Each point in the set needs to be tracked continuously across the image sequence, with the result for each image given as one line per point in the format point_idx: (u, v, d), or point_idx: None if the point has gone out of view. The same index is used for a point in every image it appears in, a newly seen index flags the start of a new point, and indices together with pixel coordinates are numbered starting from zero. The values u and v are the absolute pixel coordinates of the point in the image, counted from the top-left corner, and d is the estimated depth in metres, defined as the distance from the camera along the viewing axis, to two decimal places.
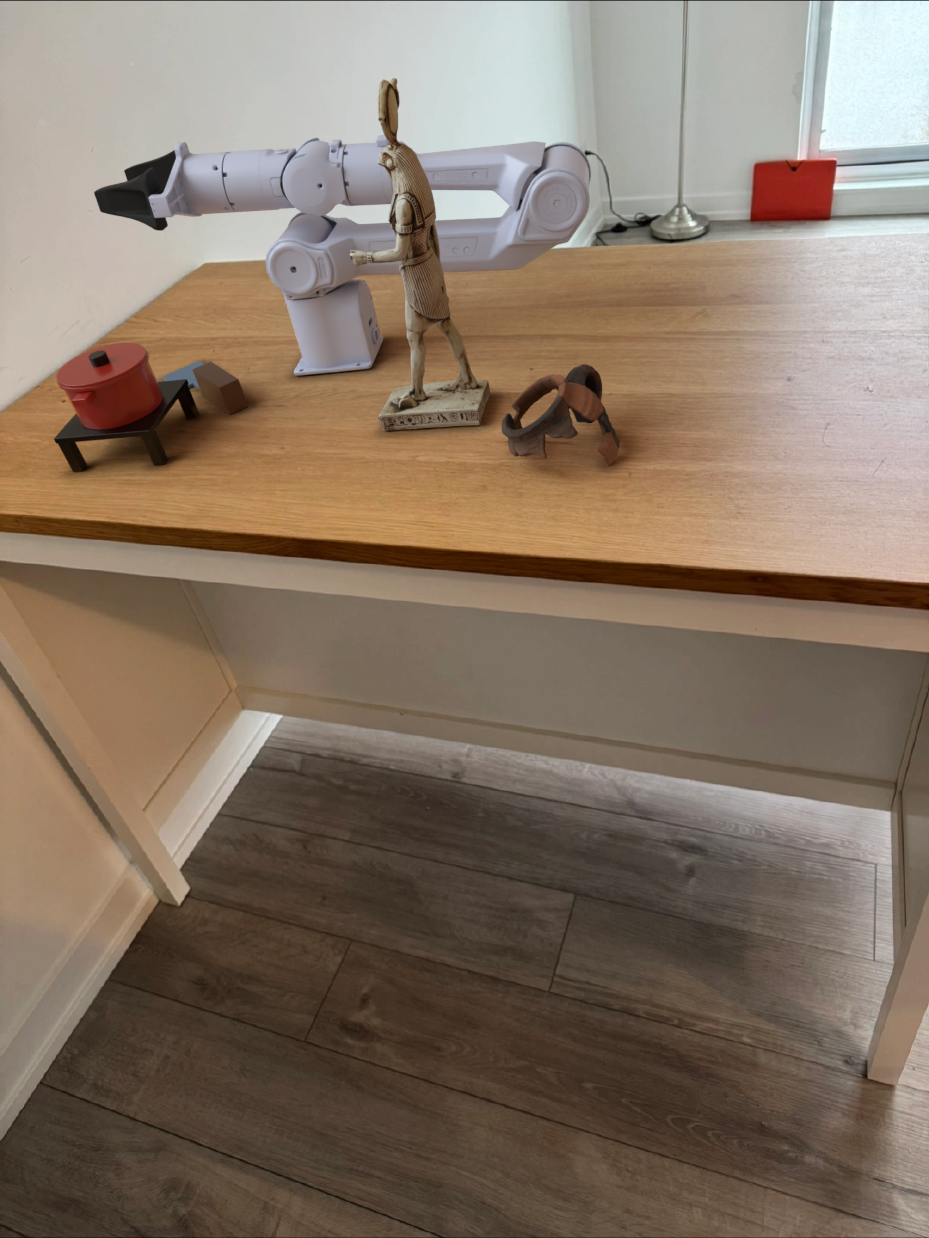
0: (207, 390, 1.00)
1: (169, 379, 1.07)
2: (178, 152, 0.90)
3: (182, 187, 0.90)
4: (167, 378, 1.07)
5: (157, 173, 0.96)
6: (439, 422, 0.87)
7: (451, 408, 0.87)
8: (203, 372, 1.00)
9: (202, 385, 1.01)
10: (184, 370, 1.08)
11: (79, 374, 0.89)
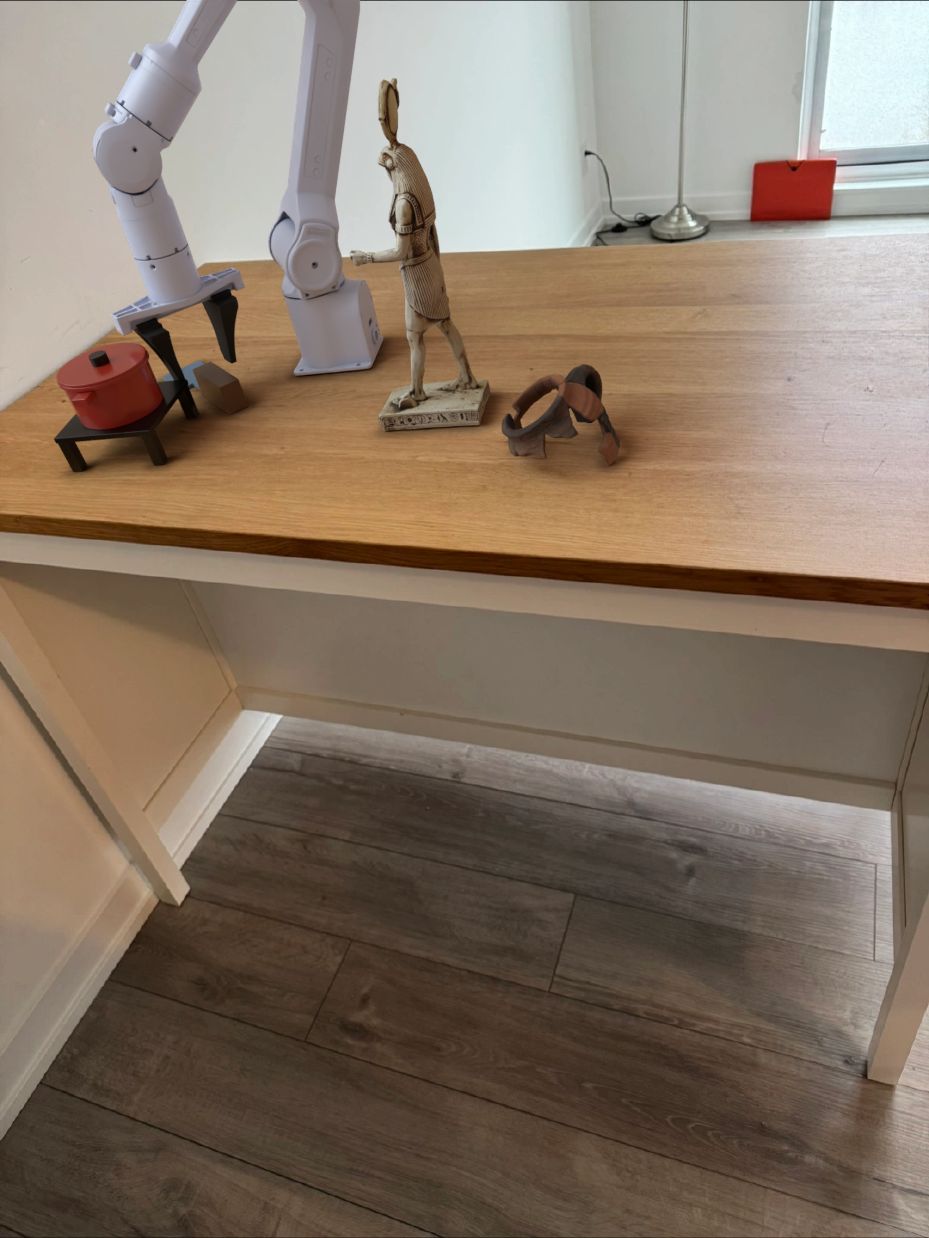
0: (207, 390, 1.00)
1: (169, 379, 1.07)
2: None
3: (149, 300, 0.93)
4: (167, 378, 1.07)
5: (217, 329, 0.99)
6: (439, 422, 0.87)
7: (451, 408, 0.87)
8: (203, 372, 1.00)
9: (202, 385, 1.01)
10: (184, 370, 1.08)
11: (79, 374, 0.89)
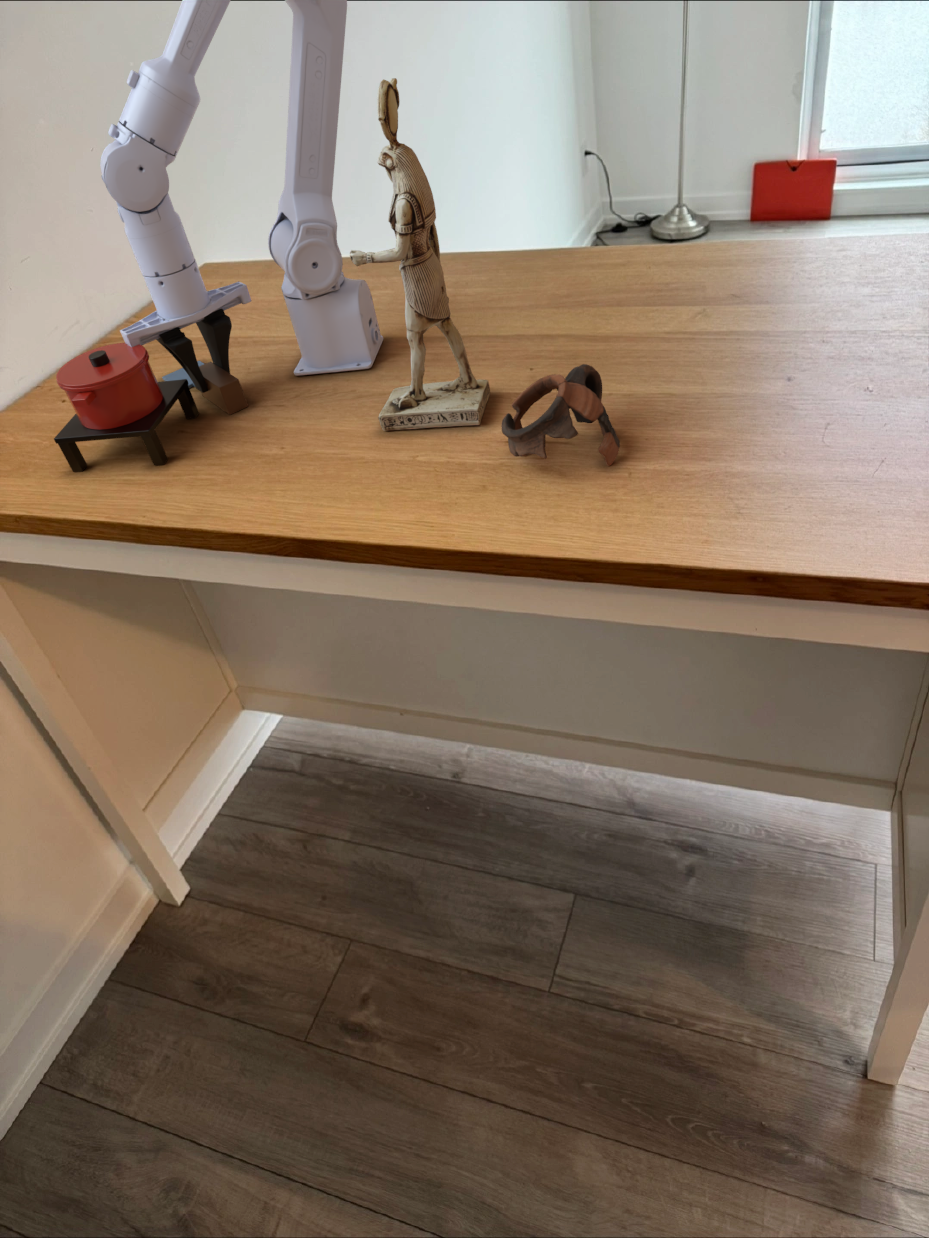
0: None
1: (169, 379, 1.07)
2: None
3: (158, 316, 0.94)
4: (167, 378, 1.07)
5: (211, 348, 0.99)
6: (439, 422, 0.87)
7: (451, 408, 0.87)
8: (203, 372, 1.00)
9: None
10: (184, 370, 1.08)
11: (79, 374, 0.89)
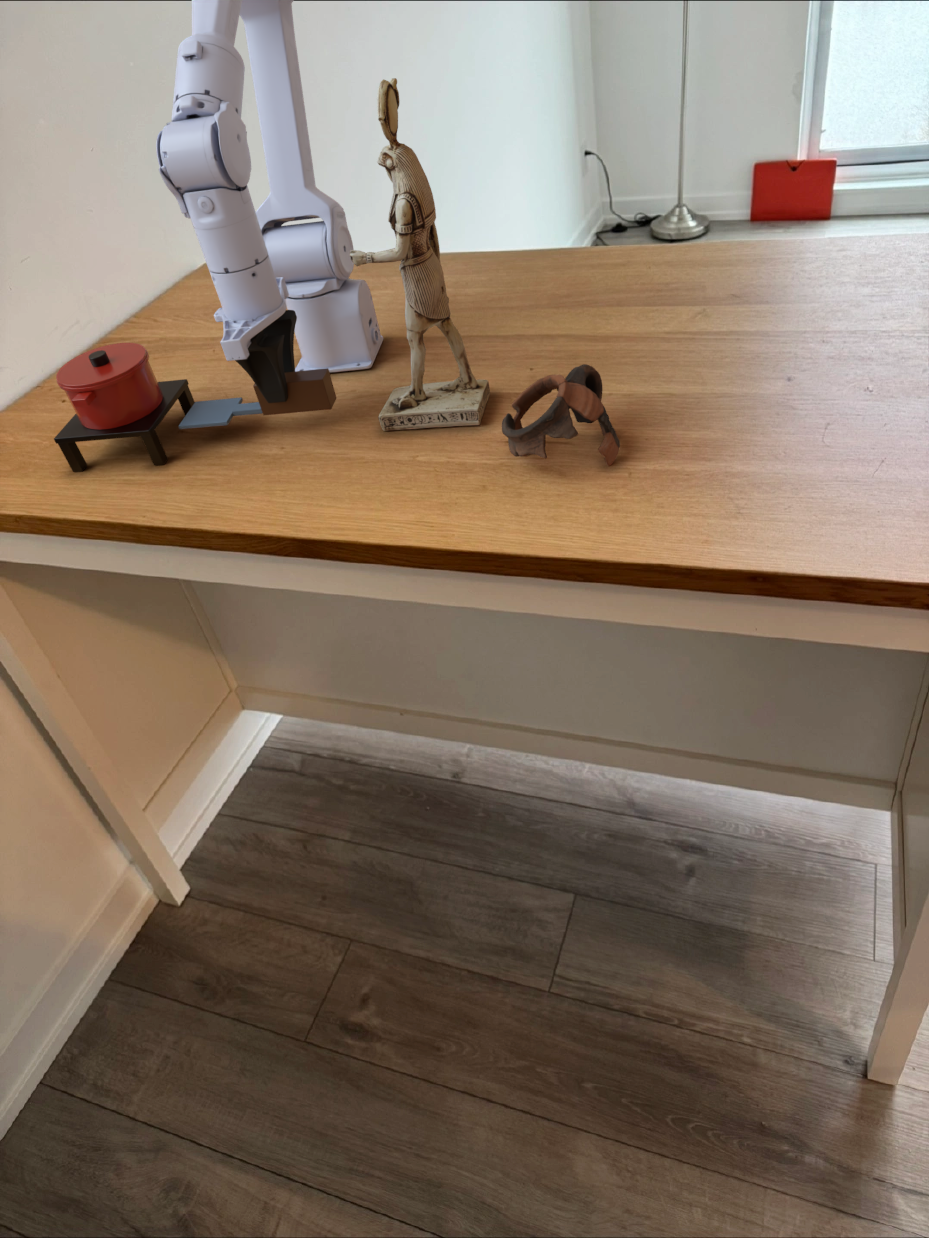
0: None
1: (194, 423, 0.92)
2: (218, 318, 0.84)
3: (238, 321, 0.82)
4: (189, 423, 0.92)
5: None
6: (439, 422, 0.87)
7: (451, 408, 0.87)
8: None
9: None
10: (196, 412, 0.93)
11: (79, 374, 0.89)
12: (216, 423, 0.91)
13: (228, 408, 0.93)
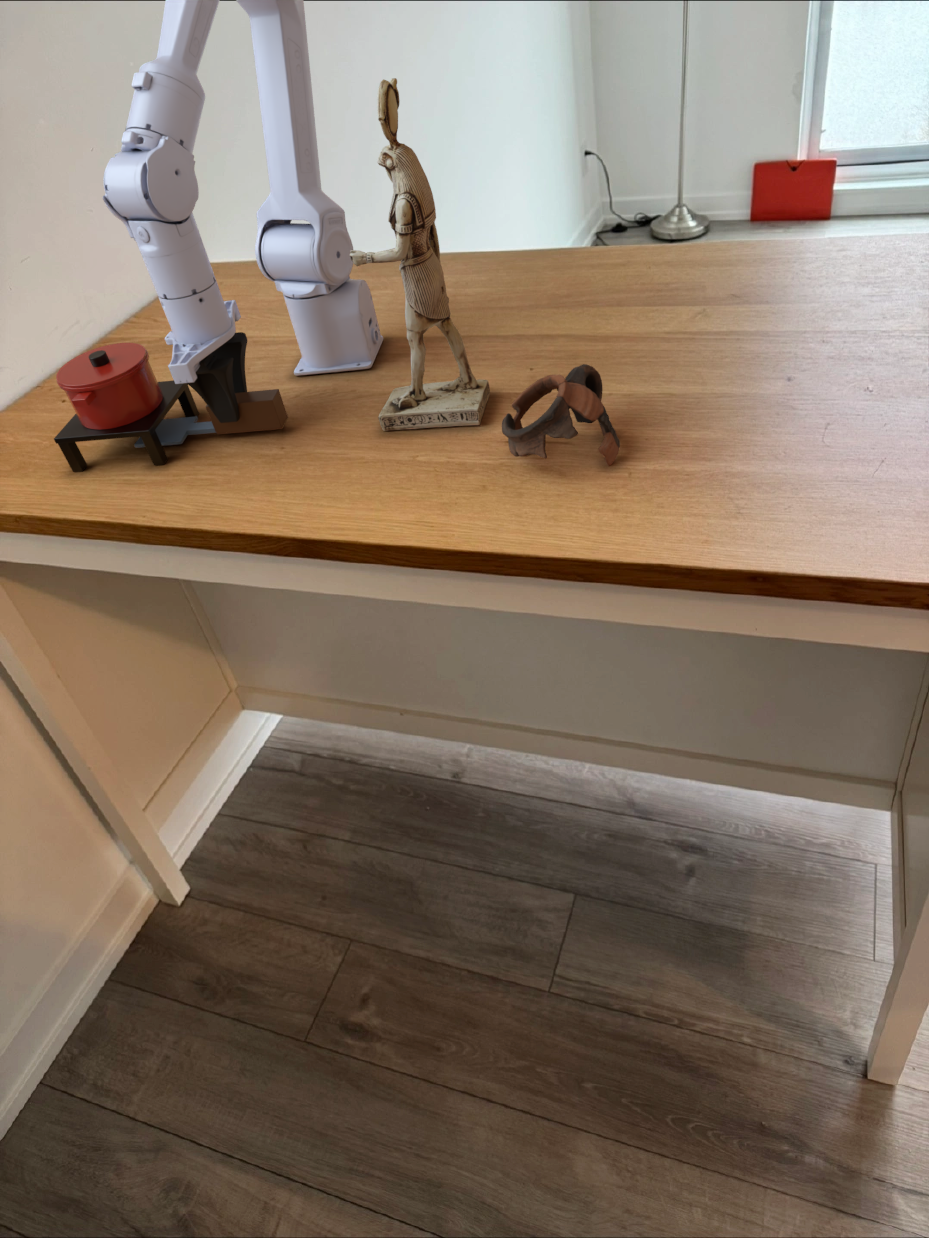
0: None
1: None
2: (169, 341, 0.87)
3: (187, 344, 0.85)
4: None
5: None
6: (439, 422, 0.87)
7: (451, 408, 0.87)
8: None
9: None
10: None
11: (79, 374, 0.89)
12: (170, 442, 0.93)
13: (183, 426, 0.95)
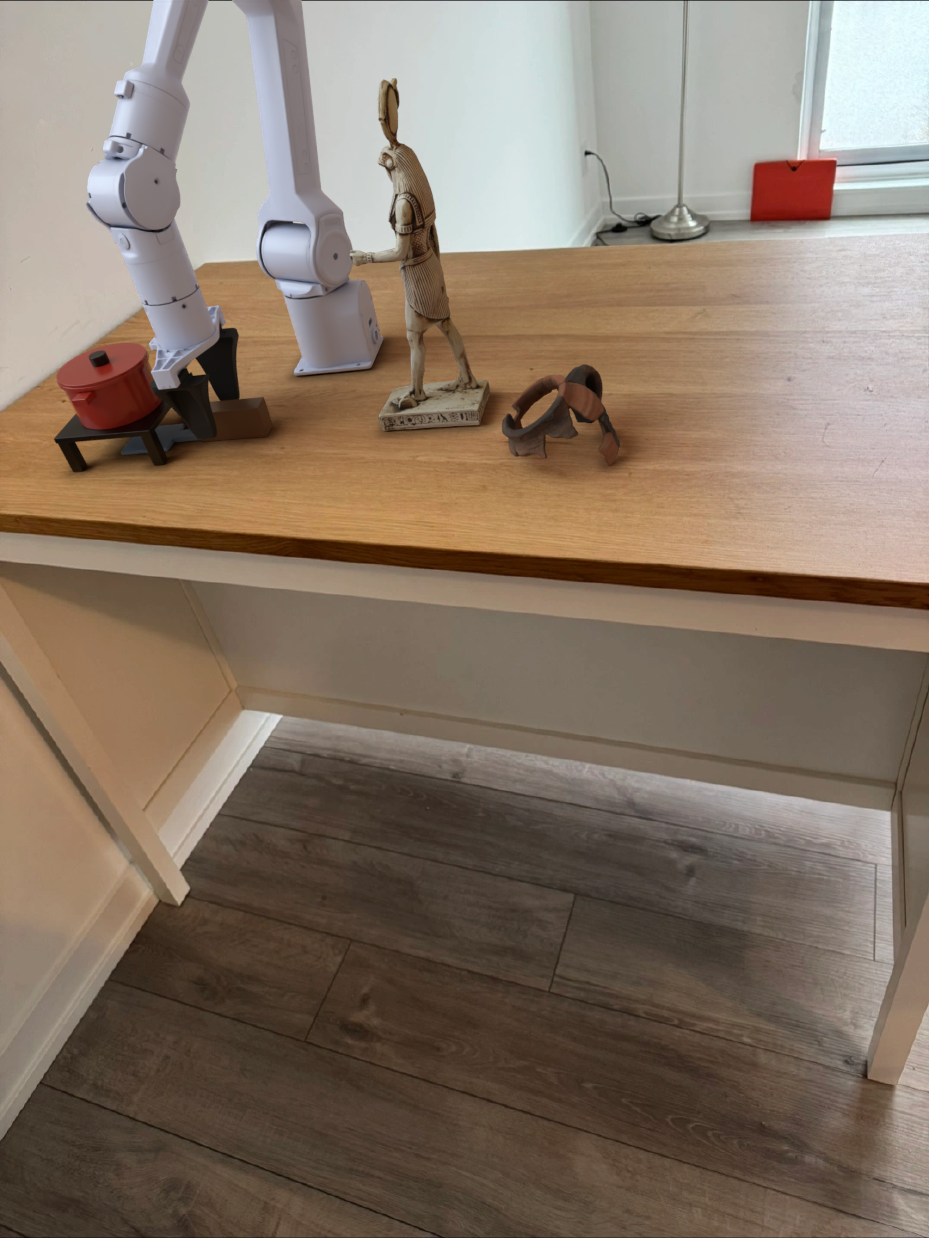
0: (220, 427, 0.93)
1: (135, 449, 0.95)
2: (153, 347, 0.88)
3: (171, 350, 0.85)
4: (131, 449, 0.95)
5: (214, 370, 0.94)
6: (439, 422, 0.87)
7: (451, 408, 0.87)
8: None
9: None
10: (139, 438, 0.97)
11: (79, 374, 0.89)
12: None
13: (169, 434, 0.96)
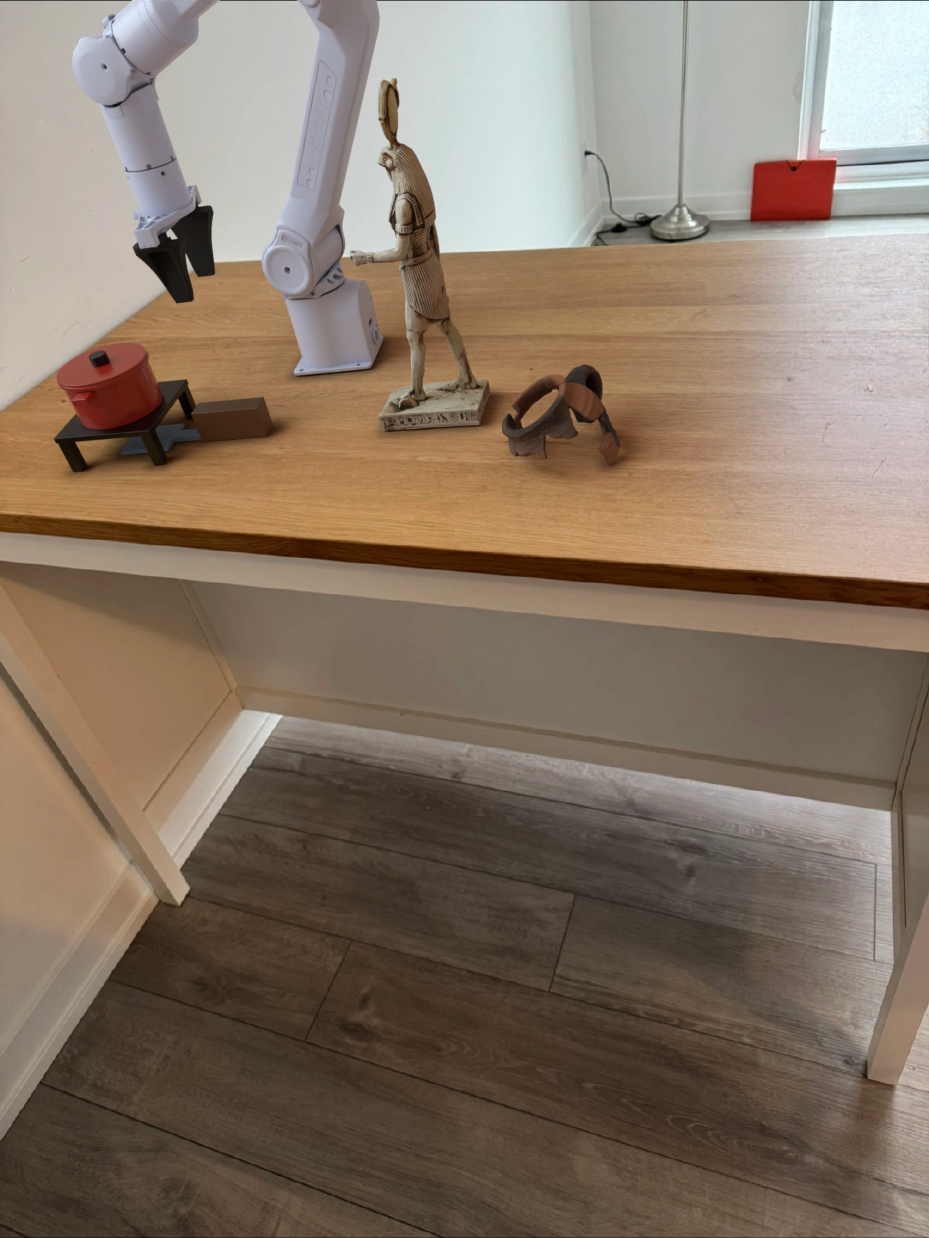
0: (220, 427, 0.93)
1: (135, 449, 0.95)
2: (135, 216, 0.97)
3: (152, 216, 0.95)
4: (131, 449, 0.95)
5: (192, 245, 1.03)
6: (439, 422, 0.87)
7: (451, 408, 0.87)
8: (210, 409, 0.92)
9: (209, 425, 0.93)
10: (139, 438, 0.97)
11: (79, 374, 0.89)
12: None
13: (169, 434, 0.96)
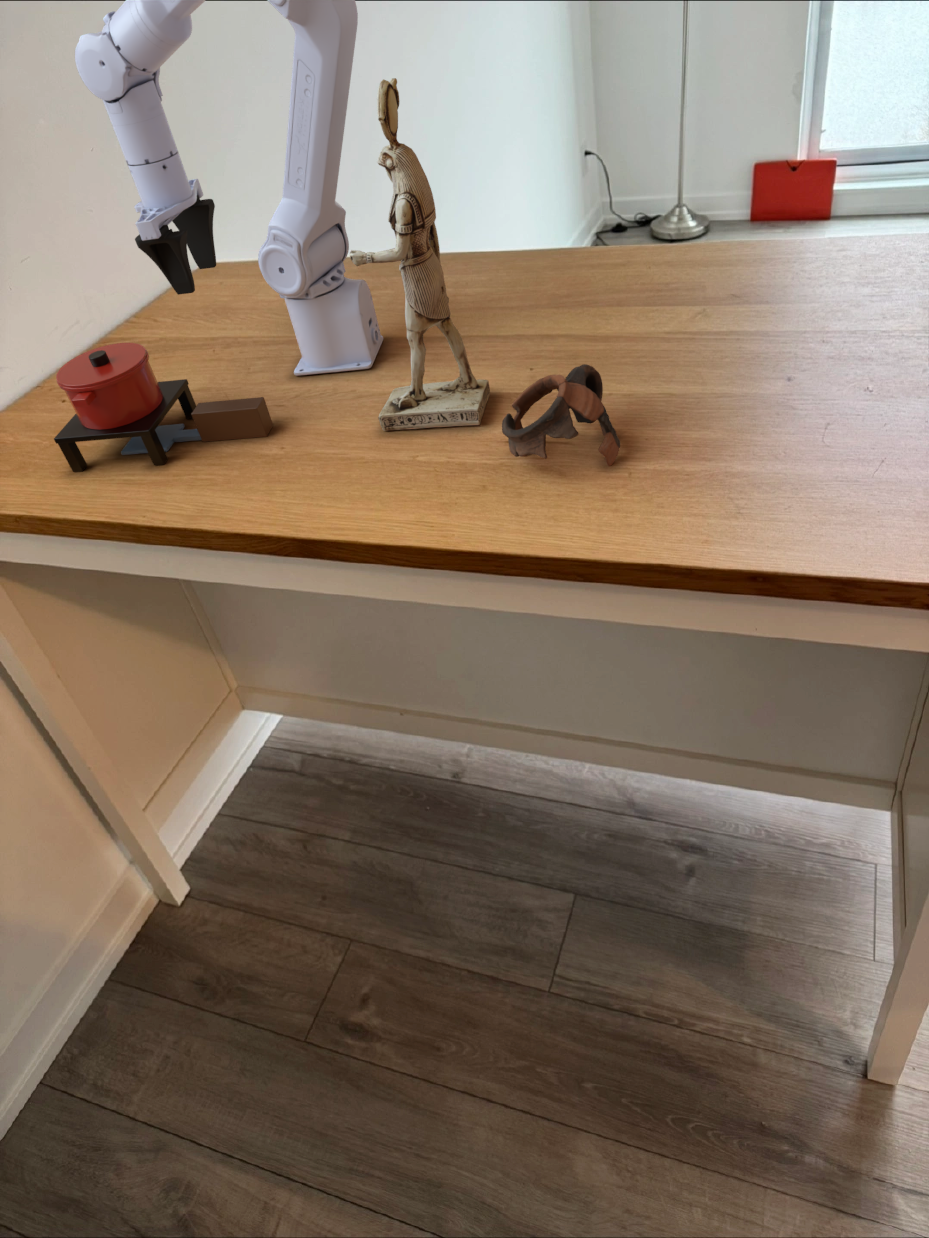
0: (220, 427, 0.93)
1: (135, 449, 0.95)
2: (138, 209, 0.99)
3: (153, 209, 0.97)
4: (131, 449, 0.95)
5: (193, 238, 1.06)
6: (439, 422, 0.87)
7: (451, 408, 0.87)
8: (210, 409, 0.92)
9: (209, 425, 0.93)
10: (139, 438, 0.97)
11: (79, 374, 0.89)
12: None
13: (169, 434, 0.96)
